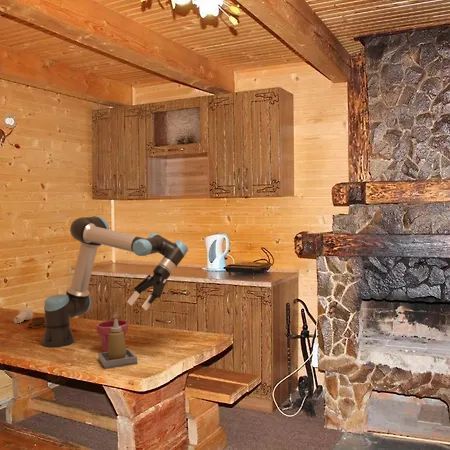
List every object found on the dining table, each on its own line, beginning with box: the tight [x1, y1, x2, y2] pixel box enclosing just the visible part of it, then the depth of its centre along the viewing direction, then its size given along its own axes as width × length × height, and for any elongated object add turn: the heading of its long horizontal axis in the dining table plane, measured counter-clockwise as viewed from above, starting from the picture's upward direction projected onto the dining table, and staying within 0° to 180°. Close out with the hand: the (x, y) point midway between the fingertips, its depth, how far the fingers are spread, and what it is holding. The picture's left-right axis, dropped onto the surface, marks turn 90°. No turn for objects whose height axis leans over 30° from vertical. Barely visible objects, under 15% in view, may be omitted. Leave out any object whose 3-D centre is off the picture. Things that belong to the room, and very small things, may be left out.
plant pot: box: [96, 319, 129, 352], centre depth 249 cm, size 14×14×13 cm
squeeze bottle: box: [108, 318, 127, 360], centre depth 231 cm, size 8×8×18 cm
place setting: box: [27, 316, 45, 329], centre depth 299 cm, size 18×20×6 cm
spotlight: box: [13, 306, 34, 324], centre depth 312 cm, size 8×11×8 cm
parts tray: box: [97, 348, 138, 370], centre depth 231 cm, size 14×14×3 cm
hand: (136, 306), depth 238 cm, fingers open, 13 cm apart
